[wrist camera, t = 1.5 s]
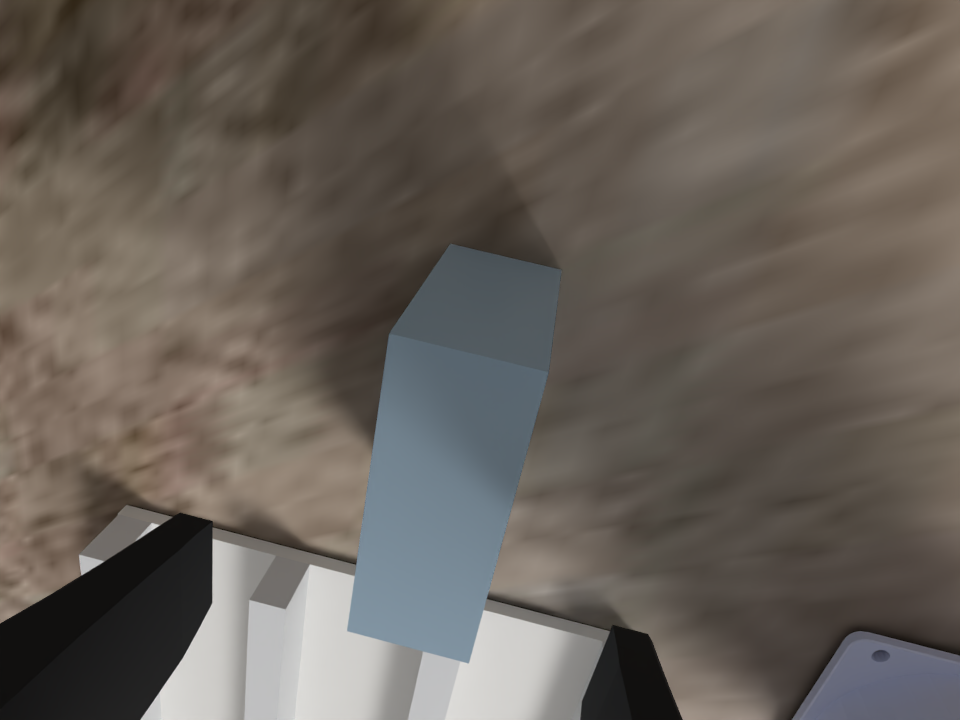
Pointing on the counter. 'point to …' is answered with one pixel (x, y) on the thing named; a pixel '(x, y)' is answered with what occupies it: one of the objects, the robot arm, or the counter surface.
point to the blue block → (451, 447)
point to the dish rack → (348, 648)
